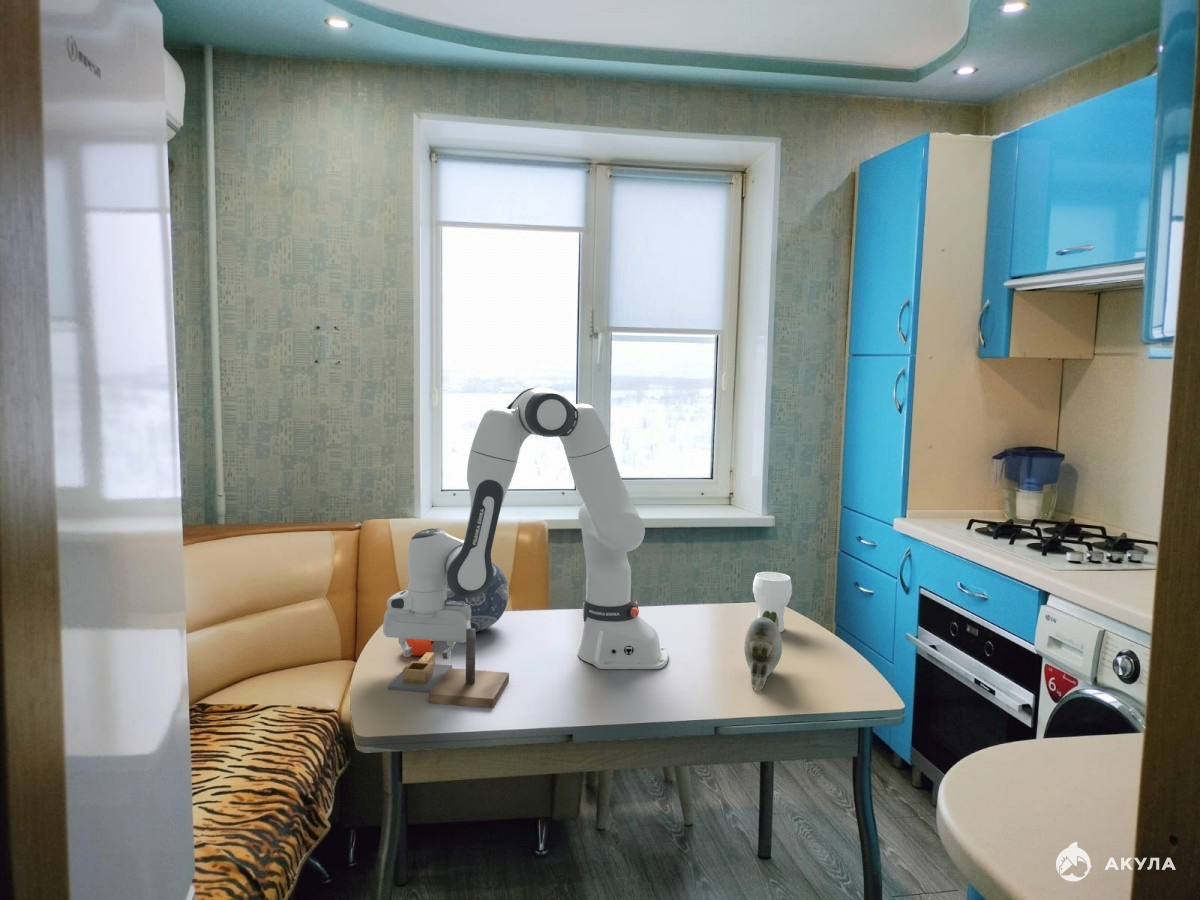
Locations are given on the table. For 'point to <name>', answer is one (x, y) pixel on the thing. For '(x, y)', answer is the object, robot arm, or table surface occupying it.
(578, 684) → the table surface
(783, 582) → the cup
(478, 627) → the decorative ball
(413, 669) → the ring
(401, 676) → the mat
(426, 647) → the pumpkin
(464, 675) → the stand
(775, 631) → the toy
